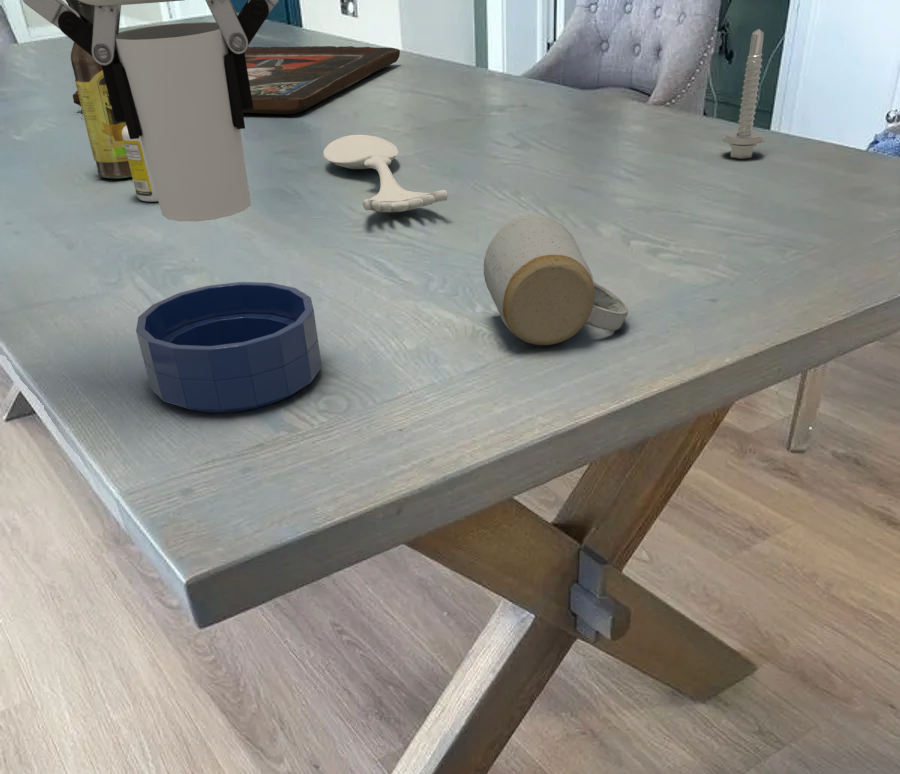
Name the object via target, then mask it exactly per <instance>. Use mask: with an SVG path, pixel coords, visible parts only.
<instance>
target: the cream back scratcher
mask: <svg viewBox="0 0 900 774" xmlns="http://www.w3.org/2000/svg"><path fill="white" fill-rule="evenodd" d="M398 154H399V149H398V147H397V146H396V145H395V144H393V142H391V141H389V140H386V139H384V138H382V137H380V136H375V135H370V134H369V135H368V134H350V135H345V136H341V137H339V138H337V139H334V140H332V141H330V142H329V143H328V144H327V145H326V146H325V148H324V149H323V157H324V158H325V159H326V160H327V161H328V162H329V163H332V164H333V165H336V166H338V167H341V168H345V169H349V170H369V169H374V170H376V171H377V173H378V175H379V181H380V182H379V183H380V184H379V185H380V188H379V191H378V193H376V194H375V195H374V196H372V197H370V198H366V199H365V198H364V199H363V202H362V206H363V209H364V210H365V211H373V212H380V213H401V212H406V211H412V210H416V209H419V208H420V209H421V208H422V207H426V206H431V205H433V204H436V203H439V202H445V201H448V196H449V195H448V191H447V190H446V189H440V190H436V191H433V192H423V191H421V192H420V191H419V192H418V191H410V190H407V189H405V188H403V187H402V186H401V185H400V184H399V183H398V182H397V180H396V178H395V177H394V175H393V173H392V171H391V169H390V168H389V166H390V165H391V164H392V161H393V160H394V159H396V157H397V156H398Z"/></svg>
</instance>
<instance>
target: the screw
mask: <svg viewBox="0 0 900 774" xmlns="http://www.w3.org/2000/svg"><path fill="white" fill-rule="evenodd" d="M764 34H765V33H764V31H762V30H761V29H760V28H758V29H756V30H754V31H753V32H752V34H751V37H750V45H749V53H748V56H746V58H747V61H746V62H745V65H746V66H745V67H746V68H745V69H744V71H745V73H744V75H743V76H744V80H743V81H742V82H743V86H742V92H741V95H742V97H741V98H740V100H741V103H740V104H739V105H740V109H739V112H740V114H739V115H738V117H739V119H738V120H737V123H738V126H737V129H735V130H730V131H726V133H725V134H723V135H722V138H721V140H722V142H724V143H726V144H728V146H729V147H730V148H731V150H730V156H729V157H730V158H733V159H737V160H744V159H745V160H746V159H751V158H753V153H754V148H755V147H757V146H758V144H759V145H760V144H762V143H764V142H765V141H766V136H765V135H764V133H763V132H761V131H758V130H754V128H753V126H754V125H755V123H754V120H756V117H754V116H755V115H756V111H755V110H756V109H757V105H756V103H758V100H757V98H758V97H759V95H758V94H757V93H758V92H759V91H760V89H759V88H758V87H759V86H760V84H761V83H759V82H760V81H759V80H761V77H760V74H761V73H762V71H761V69H762V68H763V65H762V62H763V58H762V56H763V55H764V54H763V53H762V52H763V43H764V36H765V35H764Z"/></svg>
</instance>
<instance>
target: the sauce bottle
mask: <svg viewBox="0 0 900 774" xmlns="http://www.w3.org/2000/svg"><path fill="white" fill-rule="evenodd" d="M65 3H66V4H67V5H68V6H70V7H71V8H72V9H74V10H76V11H78V12H79V13H80V14H81V15H83V16H84V17H85V18H86V19H87V20H89V21H90V22H91V23H92V24H94V10H95V5H89V4H86V3H83V2H80V1H78V0H65ZM70 63H71V66H72V70H73V74H74V82H75V87H76V91H78V95H79V99H80V103H81V111H82V115H83V116H82V117H83V120H84V124H85V127H86V128H85V129H86V132H87V137H88V141H89V145H90V149H91V152H92V157H93V160H94V161H95V164H96V170H97V173H98V175H99V177H101V178H103V179H104V178H105V179H127V178H132V174H131V170H130V166H129V162H128V158H127V154H126V150H125V146H124V142H123V137H122V130H123V128H124V127H125V126H126V122H117V123H116V121H115V118H114V115H113V111H112V107H111V103H110V99H109V94H108V90H107V86H106V82H105V78H104V74H103V70H102V66H101V64H99V63H97V62H96V61H95V60H94V58H93V57H92V56H91V55H90V54H89V53H87V52H86V51H85V50H84V49H82V48H81V47H80V46H79V45H78V44H76V43H75V42H74V41H73V44H72V48H71V51H70Z"/></svg>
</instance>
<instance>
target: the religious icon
mask: <svg viewBox="0 0 900 774" xmlns="http://www.w3.org/2000/svg"><path fill="white" fill-rule="evenodd" d="M400 55H401V50H400V49H399V48H395V47H372V46H352V45H349V46H348V45H347V46H342V45H341V46H333V45H323V46H322V45H321V46H320V45H312V46H311V45H310V46H309V45H307V46H248V47H247V49H246V51H245V59H246V65H247V71H248V77H249V84H250V90H251V96H252V102H253V109H254V110H247V111H243V114H244V113H245V114H265V115H297V114H299V113H301V112H303V111H305V110H307V109H309V108H312V107H314V106H315V105H317V104H319V103H321V102H322V101H324V100H326V99H328V98H330V97H331V96H334V95H335V94H338V93H339V92H341V91H343V90H345V89H347V88H349V87H351V86H352V85H354V84H356V83H359V81H361V80H363V79H365V78H368V77H369V76H371V75H372V74H374V73H376V72H378V71H380V70H382V69H384V68H386V67H388V66H391V65H393V64H394V63H397V62H398V60H399V58H400ZM72 99H73V103H74V104H75V105H78V106H79V107H81V103H80V99H79V95H78V91H77V90H76V91H75V92H74V93H73V94H72Z"/></svg>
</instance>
